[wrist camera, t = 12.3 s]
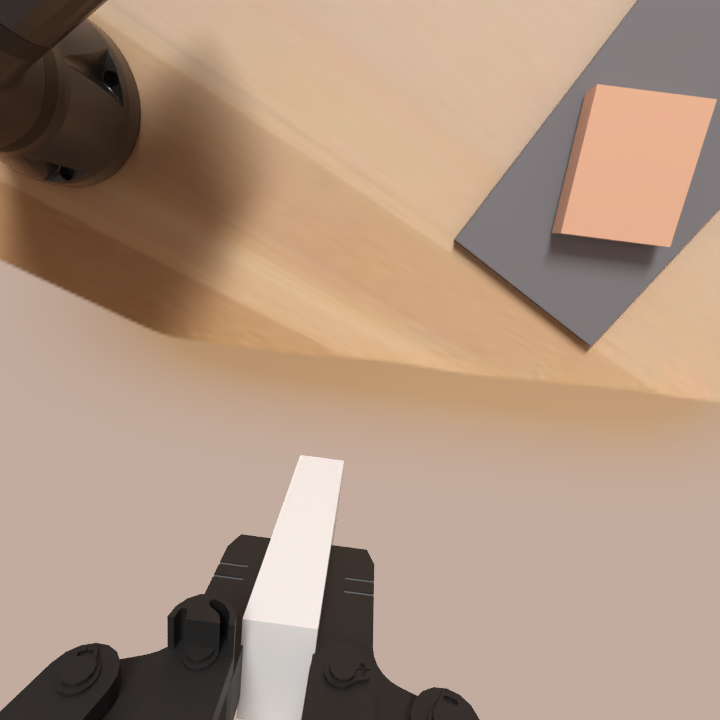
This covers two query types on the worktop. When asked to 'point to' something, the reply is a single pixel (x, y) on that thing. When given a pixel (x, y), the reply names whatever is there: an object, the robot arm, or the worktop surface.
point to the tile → (631, 164)
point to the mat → (550, 161)
